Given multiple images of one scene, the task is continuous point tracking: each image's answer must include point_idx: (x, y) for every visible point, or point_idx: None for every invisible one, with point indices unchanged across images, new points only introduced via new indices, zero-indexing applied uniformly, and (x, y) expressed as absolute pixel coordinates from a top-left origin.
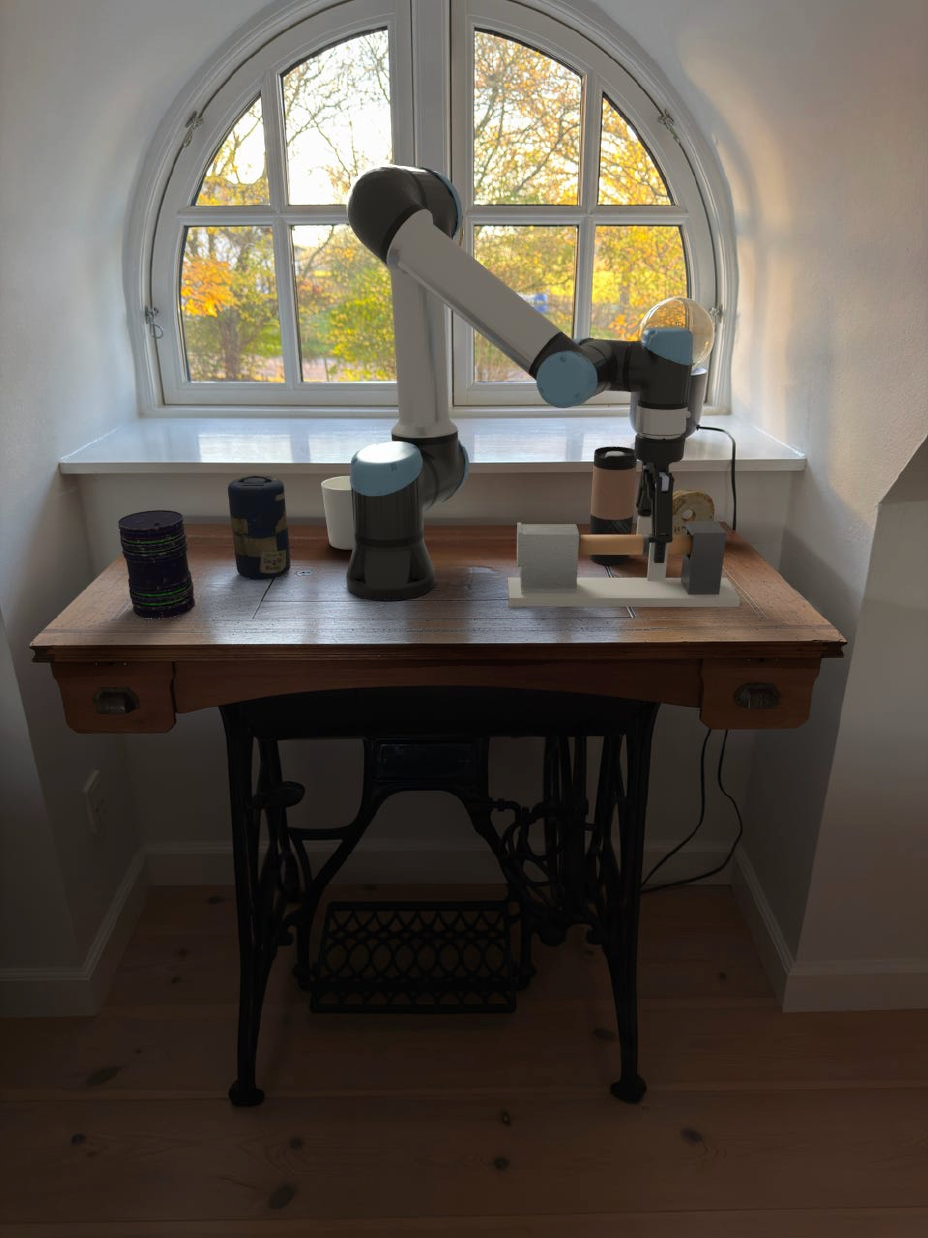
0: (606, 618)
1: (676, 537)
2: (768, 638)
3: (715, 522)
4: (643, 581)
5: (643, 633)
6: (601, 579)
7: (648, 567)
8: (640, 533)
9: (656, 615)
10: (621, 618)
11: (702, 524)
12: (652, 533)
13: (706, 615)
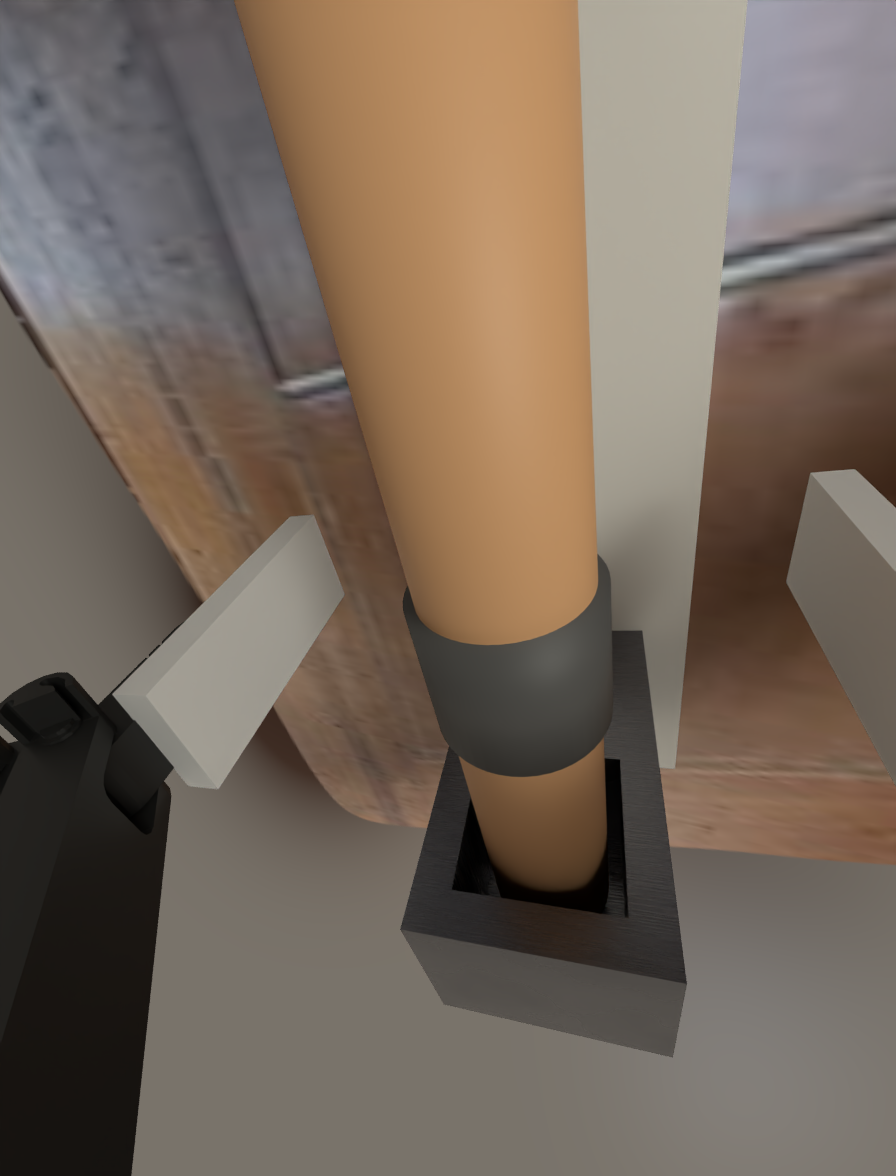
0: (219, 250)
1: (496, 822)
2: (295, 732)
3: (642, 1043)
4: (639, 466)
5: (160, 431)
6: (686, 147)
7: (257, 558)
8: (892, 606)
9: (339, 490)
10: (252, 334)
11: (595, 1002)
12: (63, 764)
13: (392, 642)
